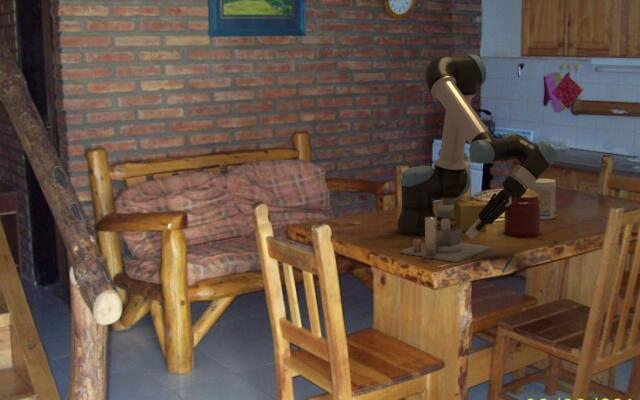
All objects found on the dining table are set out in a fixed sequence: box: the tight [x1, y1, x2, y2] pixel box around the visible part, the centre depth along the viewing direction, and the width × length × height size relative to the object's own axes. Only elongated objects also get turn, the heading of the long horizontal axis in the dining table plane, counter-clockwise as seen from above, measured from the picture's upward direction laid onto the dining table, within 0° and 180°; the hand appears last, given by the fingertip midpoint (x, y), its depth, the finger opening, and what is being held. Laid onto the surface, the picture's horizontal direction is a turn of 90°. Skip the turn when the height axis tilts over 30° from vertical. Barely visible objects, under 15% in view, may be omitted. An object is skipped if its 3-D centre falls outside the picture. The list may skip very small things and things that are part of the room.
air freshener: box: [435, 197, 459, 221], centre depth 345 cm, size 11×8×10 cm
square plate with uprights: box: [398, 218, 492, 263], centre depth 293 cm, size 22×22×11 cm
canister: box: [503, 189, 542, 237], centre depth 316 cm, size 13×13×18 cm
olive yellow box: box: [454, 199, 487, 233], centre depth 326 cm, size 10×11×10 cm
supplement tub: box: [530, 178, 557, 220], centre depth 342 cm, size 10×10×15 cm
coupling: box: [424, 216, 463, 255], centre depth 289 cm, size 16×8×12 cm, turn 144°
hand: (468, 236), depth 285 cm, fingers closed
